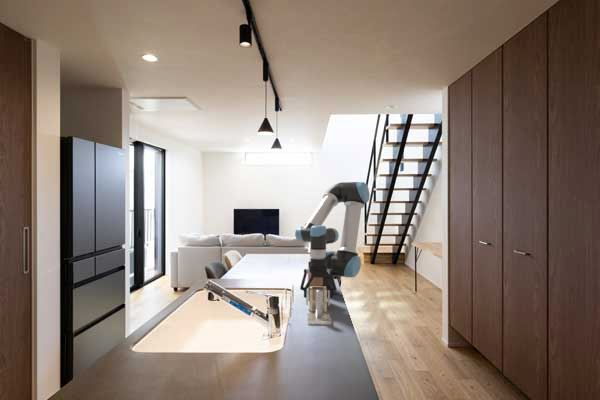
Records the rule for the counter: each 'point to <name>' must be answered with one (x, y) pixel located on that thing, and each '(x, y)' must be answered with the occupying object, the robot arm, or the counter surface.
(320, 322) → the post stand
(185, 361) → the counter surface
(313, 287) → the birch sleeve
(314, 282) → the travel mug
